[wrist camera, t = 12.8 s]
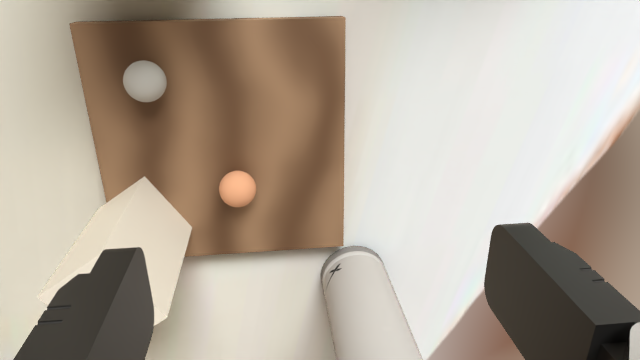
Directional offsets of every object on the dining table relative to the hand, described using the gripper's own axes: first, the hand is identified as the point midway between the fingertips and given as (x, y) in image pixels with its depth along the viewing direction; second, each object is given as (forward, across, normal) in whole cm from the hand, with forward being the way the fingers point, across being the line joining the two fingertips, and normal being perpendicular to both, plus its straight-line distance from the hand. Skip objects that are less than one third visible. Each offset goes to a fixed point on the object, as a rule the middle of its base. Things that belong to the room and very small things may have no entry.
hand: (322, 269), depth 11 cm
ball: (+29, +4, +10) cm, 31 cm away
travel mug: (+30, -6, +21) cm, 37 cm away
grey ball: (+29, +10, +1) cm, 30 cm away
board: (+30, +5, +7) cm, 31 cm away
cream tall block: (+29, +12, +13) cm, 34 cm away
